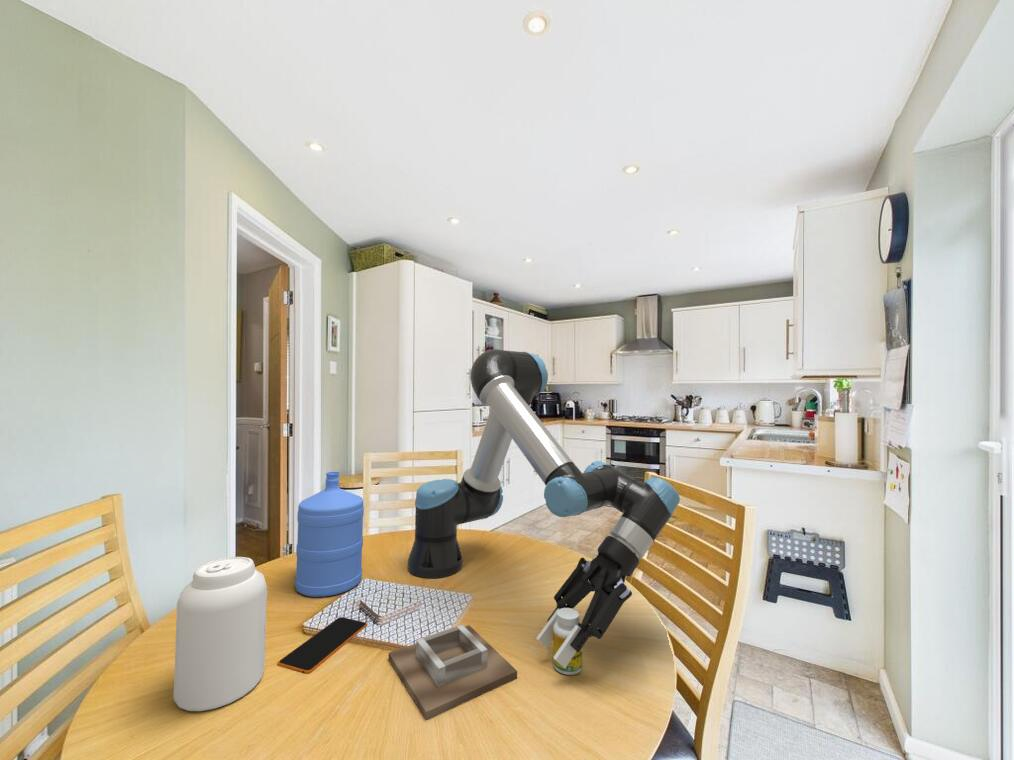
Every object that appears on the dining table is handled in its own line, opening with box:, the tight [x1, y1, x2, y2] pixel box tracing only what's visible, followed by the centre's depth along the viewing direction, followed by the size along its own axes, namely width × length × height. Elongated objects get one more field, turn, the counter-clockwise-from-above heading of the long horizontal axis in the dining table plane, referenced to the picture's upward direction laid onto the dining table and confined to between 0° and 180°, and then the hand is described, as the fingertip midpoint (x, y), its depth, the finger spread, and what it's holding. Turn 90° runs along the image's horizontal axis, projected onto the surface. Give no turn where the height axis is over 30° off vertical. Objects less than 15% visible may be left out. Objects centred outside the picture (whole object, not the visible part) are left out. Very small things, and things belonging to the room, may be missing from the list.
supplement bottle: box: [552, 608, 584, 676], centre depth 76 cm, size 5×5×10 cm
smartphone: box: [277, 616, 369, 675], centre depth 82 cm, size 8×17×1 cm, turn 162°
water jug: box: [294, 471, 365, 598], centre depth 107 cm, size 16×16×28 cm
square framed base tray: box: [387, 624, 518, 721], centre depth 75 cm, size 17×17×4 cm
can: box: [173, 556, 268, 712], centre depth 70 cm, size 12×12×20 cm
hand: (550, 652), depth 75 cm, fingers closed on supplement bottle, 5 cm apart
